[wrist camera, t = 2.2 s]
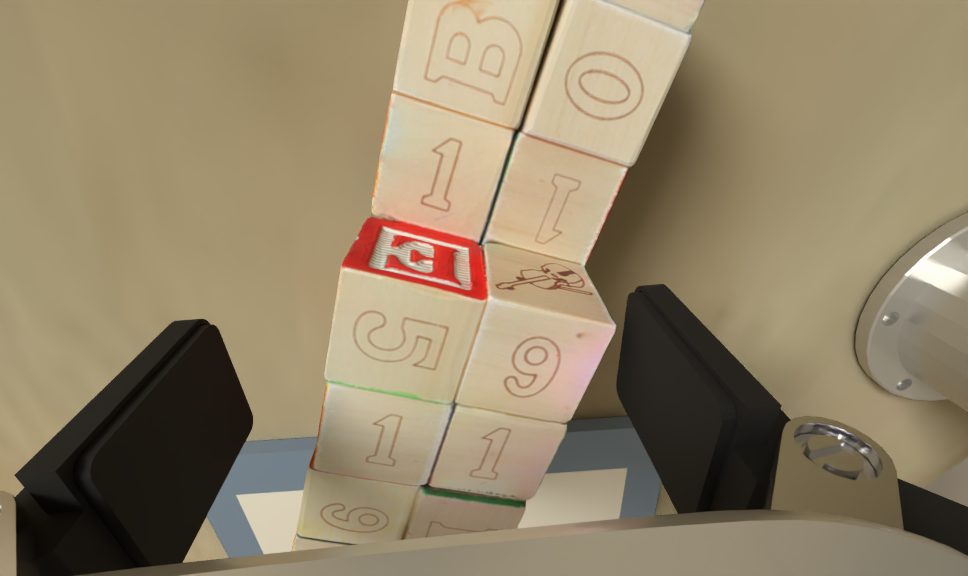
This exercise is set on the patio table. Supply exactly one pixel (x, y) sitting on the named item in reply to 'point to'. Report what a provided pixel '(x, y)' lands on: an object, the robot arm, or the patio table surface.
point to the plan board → (559, 500)
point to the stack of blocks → (481, 261)
